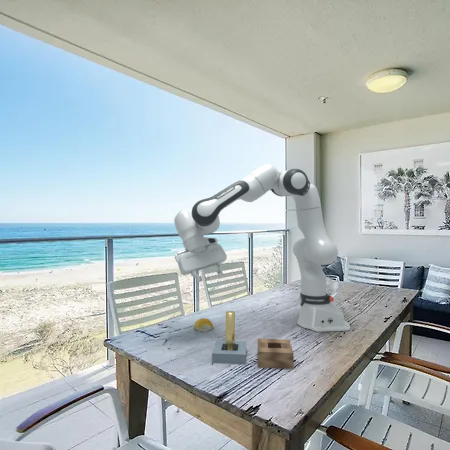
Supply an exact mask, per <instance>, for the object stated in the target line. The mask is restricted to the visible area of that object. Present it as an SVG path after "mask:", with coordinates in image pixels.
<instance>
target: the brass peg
mask: <svg viewBox="0 0 450 450" xmlns="http://www.w3.org/2000/svg"><path fill="white" fill-rule="evenodd" d="M225 341H226V350H229V351H235V341H236V312H235V311H233V310H227V311H225Z"/></svg>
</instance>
